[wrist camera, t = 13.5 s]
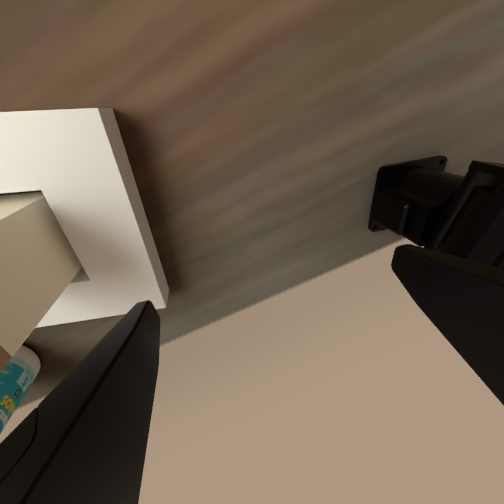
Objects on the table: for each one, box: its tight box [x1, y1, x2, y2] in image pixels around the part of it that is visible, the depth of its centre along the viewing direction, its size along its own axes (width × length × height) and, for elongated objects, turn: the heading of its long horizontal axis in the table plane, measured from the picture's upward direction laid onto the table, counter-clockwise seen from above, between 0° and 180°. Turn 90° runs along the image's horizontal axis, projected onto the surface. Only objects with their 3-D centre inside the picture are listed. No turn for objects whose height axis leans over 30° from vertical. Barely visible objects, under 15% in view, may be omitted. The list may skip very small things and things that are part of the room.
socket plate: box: [0, 108, 169, 328], centre depth 17 cm, size 16×16×2 cm
